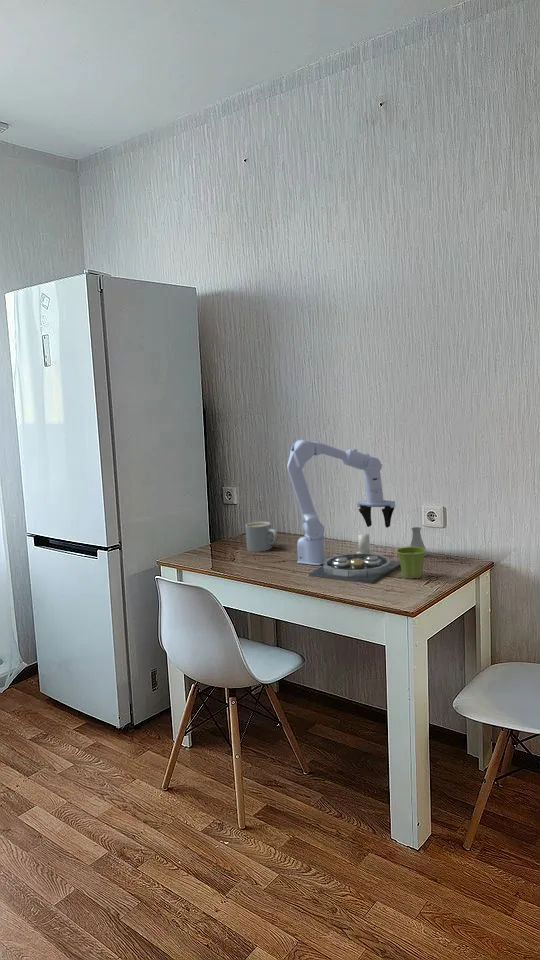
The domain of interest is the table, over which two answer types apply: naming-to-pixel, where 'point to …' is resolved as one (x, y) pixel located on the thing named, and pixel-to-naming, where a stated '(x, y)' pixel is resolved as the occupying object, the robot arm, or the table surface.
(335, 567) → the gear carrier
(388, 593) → the table surface
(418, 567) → the plant pot
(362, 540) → the white mushroom peg
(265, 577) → the table surface
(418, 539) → the flask
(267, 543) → the coffee mug
